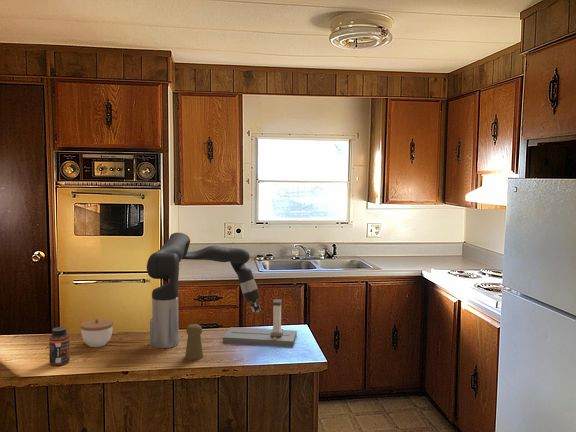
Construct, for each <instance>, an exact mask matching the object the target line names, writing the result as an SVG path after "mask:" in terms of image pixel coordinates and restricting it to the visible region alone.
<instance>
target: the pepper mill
mask: <svg viewBox="0 0 576 432" xmlns="http://www.w3.org/2000/svg"><path fill="white" fill-rule="evenodd" d="M202 328H203V327H202V325H200V324H198V323H193V324H189V325H187V326H186V331H185V332H186V335H187V339H186V341H187V342H186V348H185V349H186V350H185V355H184V356H185V357H184V358H185V359H186V360H188V361H200V360H201V359H202V358H204V352H203V350H204V349H203V344H202V343H203V342H202V338H201V337H202V336H201V334H202V332H203V329H202Z"/></svg>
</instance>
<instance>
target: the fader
mask: <svg viewBox="0 0 576 432" xmlns="http://www.w3.org/2000/svg"><path fill="white" fill-rule="evenodd" d="M282 304H283V299H273V301H272V306H273V308H272V309H273V311H272V314H273V315H272V316H273V317H272V318H273V319H272V320H273V321H272V331H271V336H282V334H283V330H284V329H283V328H282Z"/></svg>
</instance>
